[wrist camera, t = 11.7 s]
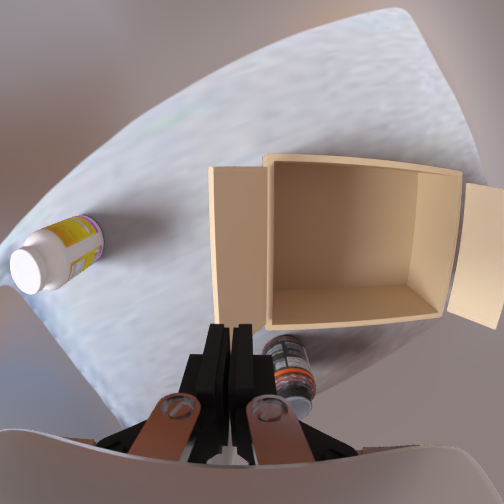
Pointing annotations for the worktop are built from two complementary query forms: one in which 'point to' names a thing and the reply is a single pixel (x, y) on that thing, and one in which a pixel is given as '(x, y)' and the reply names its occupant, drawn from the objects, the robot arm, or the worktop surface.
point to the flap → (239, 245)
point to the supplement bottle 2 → (292, 373)
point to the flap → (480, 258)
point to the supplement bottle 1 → (56, 254)
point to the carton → (358, 240)
